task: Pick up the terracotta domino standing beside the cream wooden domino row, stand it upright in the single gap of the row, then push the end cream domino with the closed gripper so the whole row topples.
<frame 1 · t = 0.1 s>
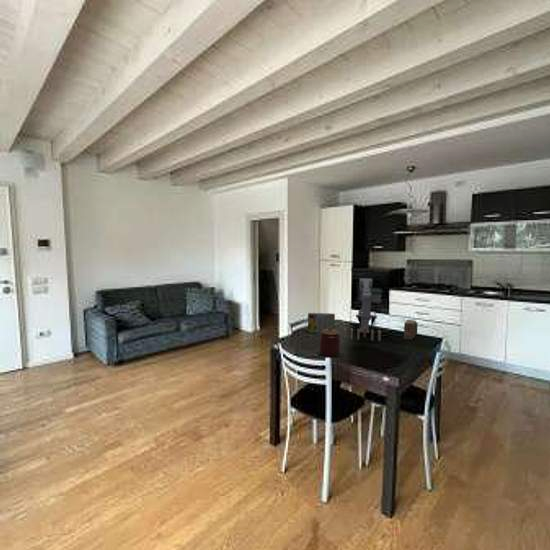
hand: (365, 327, 244), 10 cm above the table, tool pointing down, fingers open, 7 cm apart
domino 4: (358, 338, 251), on the table
snack box: (321, 332, 270), on the table
domino 1: (379, 340, 247), on the table
terracotta domino: (364, 336, 257), on the table
stack of blocks: (410, 336, 260), on the table
domino 2: (372, 339, 249), on the table
canister: (329, 353, 217), on the table
domino 5: (351, 338, 252), on the table
domino 6: (344, 337, 253), on the table
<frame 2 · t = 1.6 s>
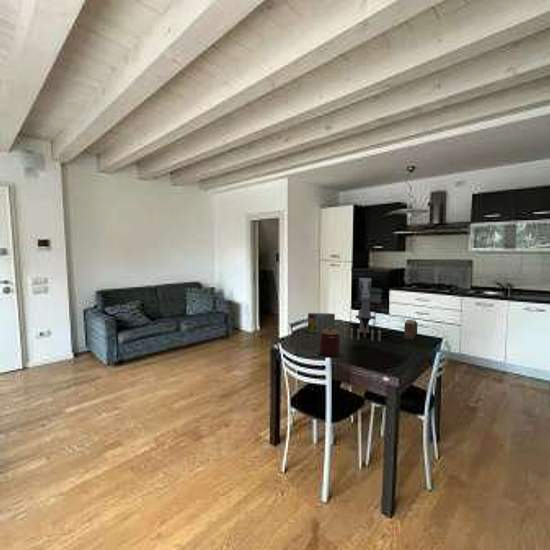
hand: (365, 327, 257), 7 cm above the table, tool pointing down, fingers closed, pressing on terracotta domino
terracotta domino: (364, 336, 257), on the table, touching gripper
everything else where it was.
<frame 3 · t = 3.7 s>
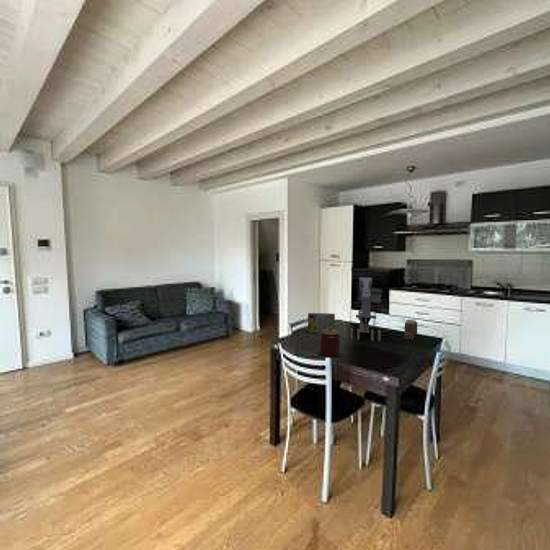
hand: (365, 327, 249), 9 cm above the table, tool pointing down, fingers closed on terracotta domino
terracotta domino: (365, 331, 249), point 6 cm above the table, touching gripper
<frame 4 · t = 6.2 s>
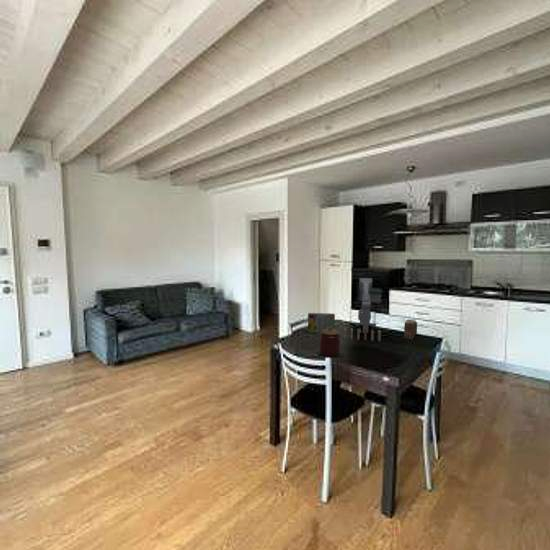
hand: (365, 335, 249), 3 cm above the table, tool pointing down, fingers open, 4 cm apart
terracotta domino: (365, 339, 250), on the table
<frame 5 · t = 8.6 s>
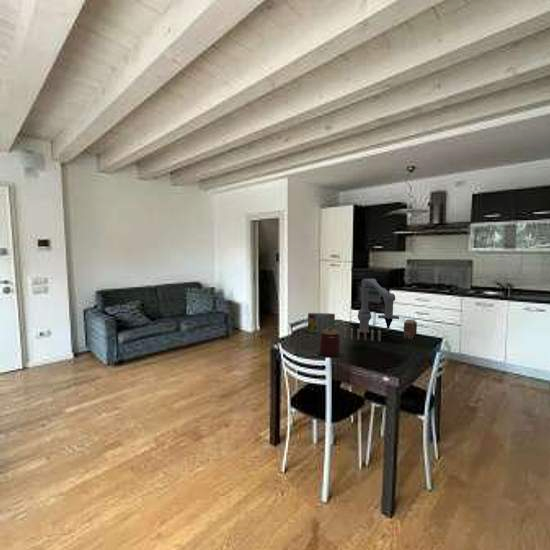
hand: (388, 328, 245), 9 cm above the table, tool pointing down, fingers closed
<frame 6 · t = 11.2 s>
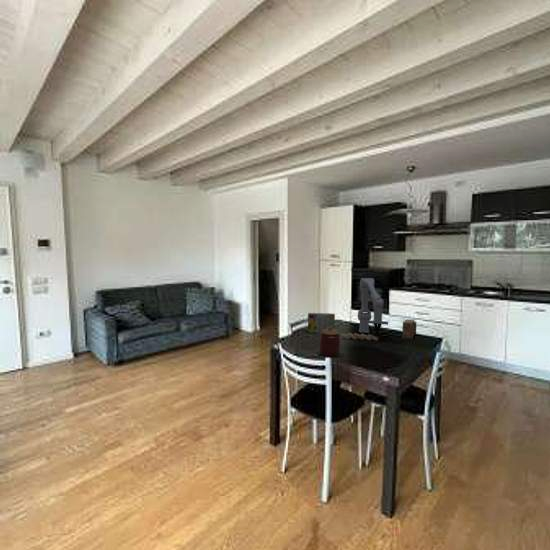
hand: (377, 333, 247), 5 cm above the table, tool pointing down, fingers closed
domino 4: (356, 337, 251), point 1 cm above the table, tilted 72°, touching domino 5, terracotta domino
domino 1: (377, 339, 248), point 1 cm above the table, tilted 72°, touching domino 2
terracotta domino: (363, 338, 250), point 1 cm above the table, tilted 71°, touching domino 2, domino 4
domino 2: (370, 338, 249), point 1 cm above the table, tilted 71°, touching domino 1, terracotta domino
domino 5: (349, 337, 252), point 1 cm above the table, tilted 79°, touching domino 4, domino 6
domino 6: (343, 337, 253), on the table, tilted 90°, touching domino 5
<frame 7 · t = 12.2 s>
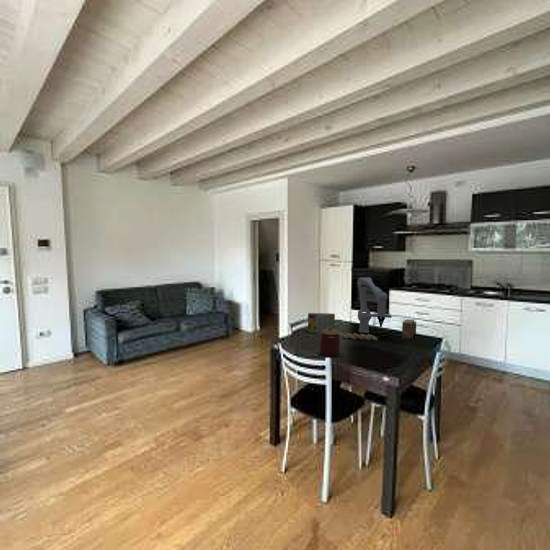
hand: (380, 326, 250), 9 cm above the table, tool pointing down, fingers closed
domino 5: (348, 337, 252), point 1 cm above the table, tilted 76°, touching domino 4, domino 6
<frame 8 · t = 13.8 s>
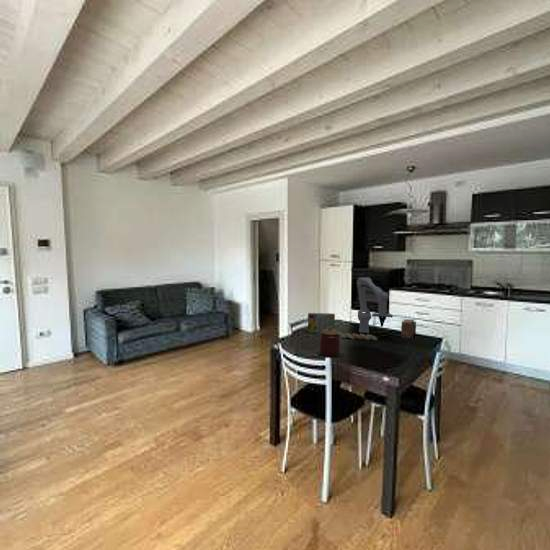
hand: (381, 326, 251), 9 cm above the table, tool pointing down, fingers closed
domino 4: (354, 337, 251), point 1 cm above the table, tilted 75°, touching terracotta domino
domino 5: (345, 336, 253), point 1 cm above the table, tilted 70°, touching domino 6
at the end: terracotta domino 2.3 cm from the target spot, point 0.8 cm above the table; domino 6 tilted 90° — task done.
